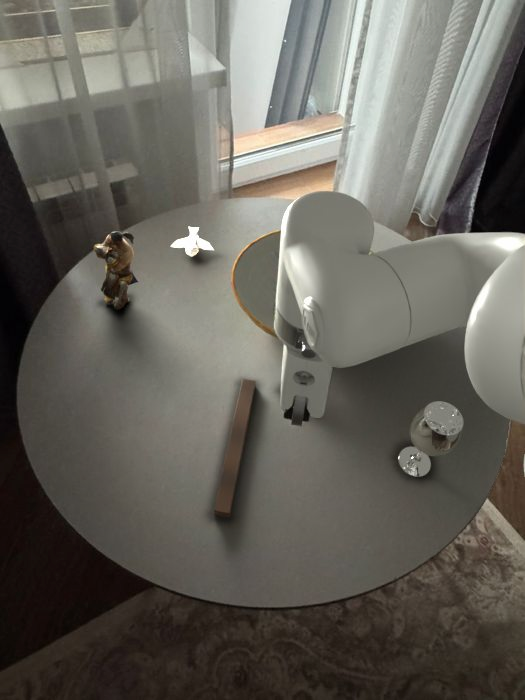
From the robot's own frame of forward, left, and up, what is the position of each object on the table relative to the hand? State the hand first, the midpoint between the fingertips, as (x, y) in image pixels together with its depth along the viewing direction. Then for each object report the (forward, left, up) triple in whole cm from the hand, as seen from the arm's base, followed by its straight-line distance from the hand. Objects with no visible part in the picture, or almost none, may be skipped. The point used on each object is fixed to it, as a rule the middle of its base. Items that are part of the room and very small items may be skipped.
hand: (296, 414), depth 63 cm
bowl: (+25, 0, -8) cm, 26 cm away
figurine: (+21, +30, -8) cm, 38 cm away
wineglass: (0, -17, -8) cm, 19 cm away
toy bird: (+36, +22, -8) cm, 43 cm away
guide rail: (-1, +7, -8) cm, 11 cm away
